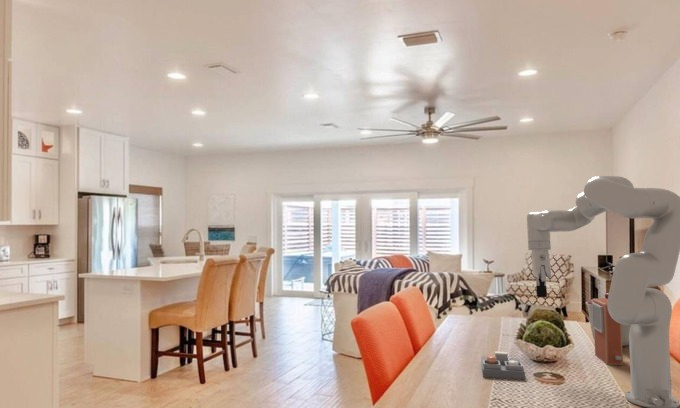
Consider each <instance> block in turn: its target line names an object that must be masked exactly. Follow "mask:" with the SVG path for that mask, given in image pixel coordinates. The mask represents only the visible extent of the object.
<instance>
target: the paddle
mask: <svg viewBox="0 0 680 408" xmlns="http://www.w3.org/2000/svg"><path fill="white" fill-rule="evenodd" d="M494 356H495V357H496V360H497V361H500V363H505V362H504V361H508V356H509V355H508V352H507V351H496V350H495V351H494Z"/></svg>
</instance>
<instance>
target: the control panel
mask: <svg viewBox="0 0 680 408" xmlns="http://www.w3.org/2000/svg"><path fill="white" fill-rule="evenodd" d="M592 299H593V303H592V314H593V328H594V337H595V340H594V355H595V356H596V357H597V358H599V360H601V361H602V362H604V364H606V365H611V366H612V365H614V366H623V365H624V359H623V346H622V329H621V325H622V324H620V323H618V322H616V321H615V320H614V319H613V318H612V317H611V316H610V314H609V311H608V307H607V301H608V299H597V298H592Z"/></svg>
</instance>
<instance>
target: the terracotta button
mask: <svg viewBox="0 0 680 408" xmlns="http://www.w3.org/2000/svg"><path fill="white" fill-rule="evenodd" d="M486 357H487V362H489V363H496V362H497V360H496V357H495V355H494V356H492V355H487V356H486Z"/></svg>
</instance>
